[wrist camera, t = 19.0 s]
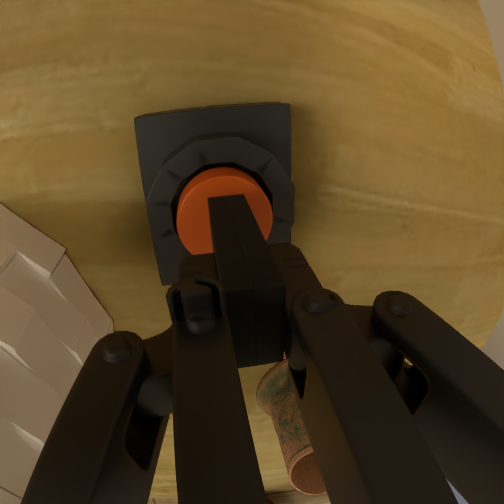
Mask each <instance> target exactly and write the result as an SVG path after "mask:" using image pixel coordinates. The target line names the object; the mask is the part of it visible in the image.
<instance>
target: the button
mask: <svg viewBox="0 0 504 504" xmlns="http://www.w3.org/2000/svg"><path fill="white" fill-rule="evenodd" d="M237 194H244V196H245V198H246V200H247V202H248V204H249V206H250V208H251V210H252V213H253V215H254V217H255V219H256V221H257V223H258V225H259V228H260V230H261V232H262V234H263V236H264V238H265V240H267V238H268V236H269V234H270V231H271V228H272V222H273V214H272V208H271V205H270V202H269V200H268V198H267V196H266V195H265V193H264V192H263V190H262V189H261V187H260V186H259V185H258V183H257V182H256V181H255V180H254V179H253V178H252V177H251V176H250V175H248V174H247V173H245V172H243V171H241V170H238V169H235V168H230V167H217V168H212V169H208V170H206V171H203V172H201V173H200V174H198V175H196V176H195V177H194V178H193V179H191V180H190V181H189V183H188V184H187V185H186V186H185V188H184V189H183V191H182V193H181V196H180V198H179V202H178V210H177V230H178V234H179V237H180V239H181V241H182V243H183V245H184V246H185V247H186V249H187V250H188V251H189V252H190V253H191V254H193V255H197V254H205V253H213V246H212V237H211V228H210V218H209V208H208V198H209V197H218V196H227V195H237Z"/></svg>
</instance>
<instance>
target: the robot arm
mask: <svg viewBox="0 0 504 504" xmlns="http://www.w3.org/2000/svg"><path fill="white" fill-rule="evenodd" d="M208 208H209V218H210V228H211V237H212V246H213V253H205V254H197V255H189V256H185V257H184V258H183V260H182V261H181V262H180V264H179V269H178V282H176V283H174V284H173V285H172V286H171V287H170V288H169V289H168V292H167V294H166V299H167V303H168V307H169V312H170V316H171V320H172V323H173V324H172V325H171V327H170V328H169V329H167V330H166V331H164V332H163V333H161V334H158V335H156V336H154V337H151V338H148V339H145V340H142V339H141V338H140V337H139V336H138V335H137V334H135V333H132V332H129V331H116V332H113V333H110V334H107V335H106V336H104V337H102V338H101V339H99V340H98V341H97V343H96V344H95V345H94V346H93V348H92V350H91V351H90V353H89V355H88V357H87V359H86V361H85V363H84V364H83V366H82V368H81V370H80V372H79V374H78V376H77V378H76V380H75V382H74V384H73V386H72V388H71V390H70V392H69V394H68V396H67V398H66V400H65V402H64V404H63V406H62V408H61V410H60V412H59V414H58V416H57V418H56V420H55V422H54V425H53V427H52V429H51V431H50V433H49V435H48V438H47V440H46V442H45V444H44V447H43V449H42V451H41V454H40V456H39V458H38V461H37V463H36V465H35V468H34V470H33V473H32V475H31V478H30V480H29V483H28V485H27V488H26V490H25V493H24V496H23V498H22V501H21V504H147V503H148V499H149V494H150V490H151V486H152V482H153V478H154V474H155V470H156V466H157V462H158V458H159V454H160V450H161V446H162V442H163V438H164V434H165V431H166V427H167V423H168V419H169V414H170V413H172V412H173V429H174V450H175V467H176V481H177V493H178V504H268V503H267V499H266V495H265V491H264V486H263V482H262V478H261V474H260V469H259V465H258V461H257V456H256V452H255V447H254V443H253V438H252V434H251V429H250V425H249V420H248V415H247V410H246V406H245V401H244V396H243V391H242V386H241V382H240V377H239V372H238V368H243V367H250V366H256V365H263V364H269V363H275V362H280V361H283V357H284V351H285V354H286V357H287V360H288V369H287V391H290V390H291V386H292V389H293V392H294V395H295V398H296V401H297V404H298V407H299V410H300V413H301V416H302V419H303V422H304V425H305V428H306V431H307V434H308V437H309V440H310V443H311V446H312V449H313V452H314V455H315V458H316V461H317V464H318V467H319V470H320V473H321V476H322V479H323V482H324V485H325V488H326V491H327V494H328V497H329V499H330V502H331V504H458V502H457V500H456V498H455V496H454V494H453V492H452V490H451V488H450V486H449V484H448V482H447V480H448V481H449V482H450V483H451V484H452V485H453V486H454V488H455V489H456V490H457V491H458V492H459V493H460V494H461V495H462V496H463V498H464V499H465V500H466V501H467V502H468V503H469V504H504V370H503V369H502V368H500V367H499V366H498V365H497V364H496V363H495V362H493V361H492V360H491V359H490V358H489V357H488V356H486V355H485V354H484V353H483V352H482V351H481V350H479V349H478V348H477V347H476V346H475V345H473V344H472V343H471V342H470V341H469V340H467V339H466V338H465V337H464V336H463V335H461V334H460V333H459V332H458V331H456V330H455V329H454V328H453V327H452V326H450V325H449V324H448V323H447V322H445V321H444V320H443V319H442V318H440V317H439V316H438V315H437V314H435V313H434V312H433V311H431V310H430V309H429V308H428V307H426V306H425V305H424V304H423V303H421V302H420V301H419V300H417V299H416V298H415V297H413V296H411V295H409V294H408V293H404V292H401V291H386V292H382V293H381V294H379V295H378V296H376V299H375V301H374V304H373V306H360V305H349V304H345V303H344V302H343V300H342V299H341V298H340V297H339V296H338V295H337V294H336V293H334V292H332V291H330V290H328V289H323V287H322V285H321V284H320V282H319V280H318V279H317V277H316V275H315V274H314V272H313V270H312V269H311V267H310V266H309V264H308V262H307V261H306V259H304V256H303V254H302V253H301V251H300V249H299V248H297V247H295V246H294V245H292V244H291V243H289V242H288V243H280V244H271V245H267V243H266V240H265V238H264V236H263V234H262V232H261V230H260V228H259V225H258V223H257V221H256V219H255V217H254V215H253V213H252V210H251V208H250V206H249V204H248V202H247V200H246V198H245V196H244V194H237V195H227V196H218V197H209V198H208ZM406 358H407V359H408V360H409V361H410V362H411V363H412V364H413V365H412V366H411V365H408V364H407V363H406V362H405V359H406ZM446 479H447V480H446Z"/></svg>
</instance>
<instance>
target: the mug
mask: <svg viewBox="0 0 504 504" xmlns="http://www.w3.org/2000/svg"><path fill="white" fill-rule="evenodd" d="M287 369H288V360H287V358H286V359H284V360H283V361H281V362H280V363H278V364H277V365H275V366H274V367H273V368H272V369H271V370H270V371H269V372H268V373H267V374H266V375H265V376H264V377H263V379H262V380H261V382H260V384H259V386H258V389H257V400H258V404H259V406H260V408H261V409H262V410H263V411H264V412H265V413H267V414H268V415H270V416H272V420H273V423H274V426H275V430H276V432H277V435H278V439H279V443H280V446H281V450H282V453H283V457H284V460H285V464H286V467H287V471H288V477H289V480H290V483H291V484H292V486H293V487H294V488H295V489H297V490H298V491H300V492H302V493H304V494H308V495H321V494H324V493H327V491H326V488H325V485H324V482H323V479H322V476H321V473H320V470H319V467H318V464H317V461H316V458H315V455H314V452H313V449H312V446H311V443H310V440H309V437H308V434H307V431H306V428H305V425H304V422H303V419H302V416H301V413H300V410H299V407H298V404H297V401H296V398H295V395H294V392H293V389H292V386H291V390H290V391H287Z"/></svg>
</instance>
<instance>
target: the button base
mask: <svg viewBox="0 0 504 504" xmlns="http://www.w3.org/2000/svg"><path fill="white" fill-rule="evenodd" d="M134 124H135V133H136V141H137V149H138V156H139V163H140V170H141V177H142V183H143V190H144V196H145V202H146V208H147V213H148V219H149V224H150V230H151V235H152V240H153V245H154V250H155V255H156V260H157V264H158V269H159V274H160V278H161V282H162V285H172V284H174V283H176V282H178V269H179V264H180V262H181V261H182V260H183V258H184V257H185V256H189V255H193V254H191V253H190V252H189V251H188V250H187V249H186V247H185V246H184V245H183V243H182V241H181V239H180V237H179V234H178V230H177V210H178V202H179V198H180V196H181V193H182V191H183V189H184V188H185V186H186V185H187V184H188V183H189V181H190V180H191V179H193V178H194V177H195V176H196V175H198V174H200V173H201V172H203V171H206V170H208V169H212V168H217V167H230V168H235V169H238V170H241V171H243V172H245V173H247V174H248V175H250V176H251V177H252V178H253V179H254V180H255V181H256V182H257V183H258V185H259V186H260V187H261V189H262V190H263V192H264V193H265V195H266V196H267V198H268V200H269V202H270V205H271V208H272V214H273V222H272V228H271V231H270V234H269V236H268V238H267V240H266V243H267V245H271V244H280V243H288V242H289V243H291V227H292V225H293V223H294V201H295V188H294V184H293V183H292V181H291V115H290V104H286V103H280V102H272V103H247V104H230V105H217V106H206V107H196V108H187V109H178V110H170V111H163V112H156V113H149V114H143V115H140V116H138V117H135V118H134Z"/></svg>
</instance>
